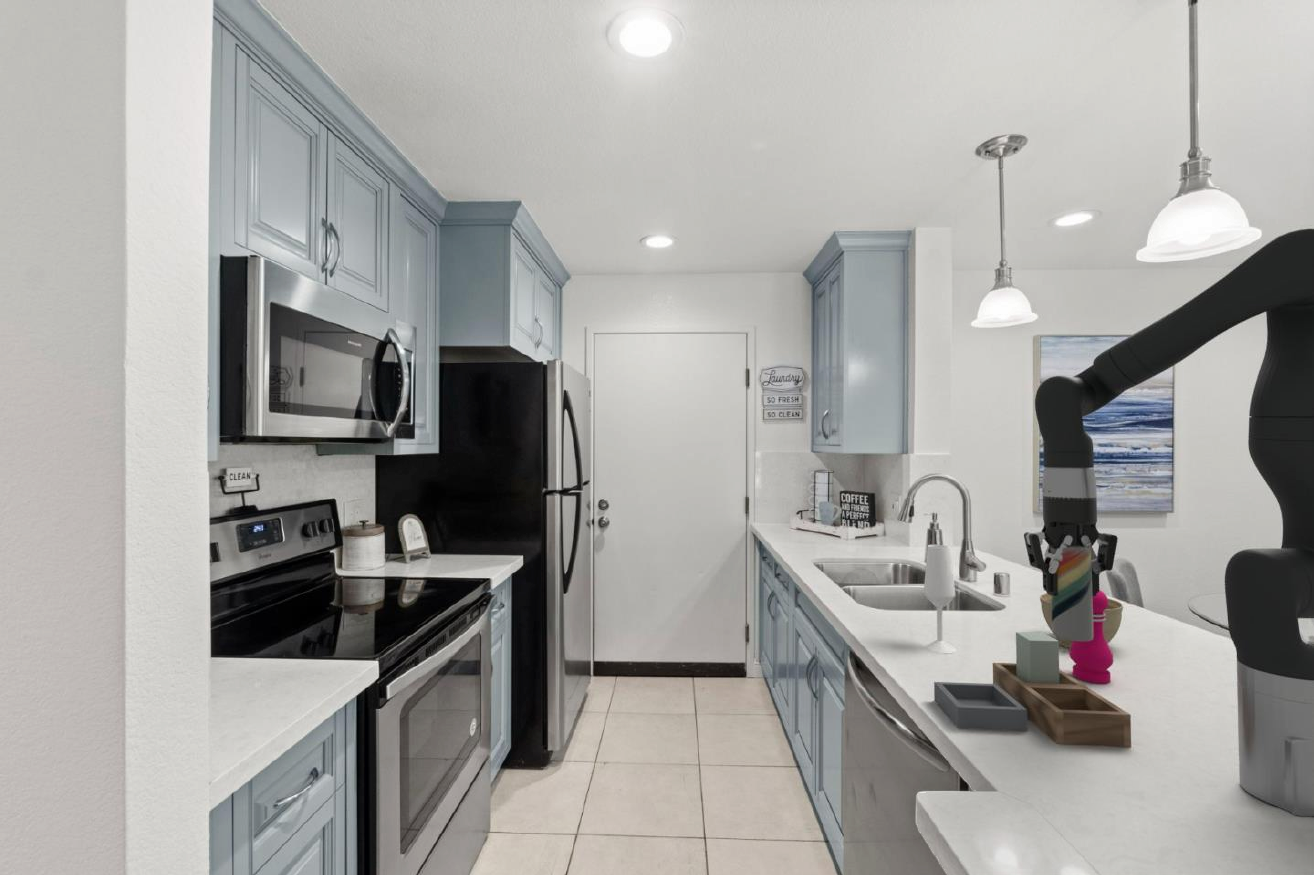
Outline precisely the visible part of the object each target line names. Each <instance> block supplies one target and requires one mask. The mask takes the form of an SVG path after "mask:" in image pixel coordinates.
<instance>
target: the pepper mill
mask: <svg viewBox="0 0 1314 875" xmlns="http://www.w3.org/2000/svg"><path fill="white" fill-rule="evenodd" d="M1092 598H1093V639H1092V640H1091V641H1073V642H1072V644H1071V647H1070V648H1069V657H1070V659H1071V660H1072V661H1073V662H1074V665H1073V666H1072V675H1073V677H1075V678H1076V679H1078V680H1080V681H1085V682H1087V683H1090V684H1091V683H1092V684H1093V683H1094V684H1104V685H1105V684H1109V683H1110V682H1111V672H1110V671H1109V670H1108V669H1109V668H1110V667H1112V666H1113V664H1114V655H1113V653H1112V650H1111V648H1110V645H1109V643H1108V644H1107V642H1106V640H1105V637H1104V634H1103V621H1105V620H1106V619H1105V615H1106V614H1105V613H1104V610H1105V609H1107V607H1108V599H1109V598H1108V597H1107V595H1106V593H1104V592H1103V591H1102V590H1100V589H1099V593H1097V595H1096V597H1092Z"/></svg>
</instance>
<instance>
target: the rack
mask: <svg viewBox="0 0 1314 875" xmlns="http://www.w3.org/2000/svg"><path fill="white" fill-rule="evenodd" d="M992 684H997V685H998V686H999V687H1000V688H1001V689H1003V690H1004V691H1005V692H1006V693H1007V694H1009V695H1010V696H1011V697H1012V698H1013V699H1015V700H1016V701H1017V702H1018V703H1019V704H1021V705H1022V706H1023V707H1024V708H1025V709H1027V720H1029V721H1030V722H1031V723H1032V724H1033V725H1035V726H1036V727H1037V728H1039V729H1040V730H1041V731H1042V732H1043V733H1044V734H1045V735H1046V736H1048V737H1049V738H1050V739H1051V740H1052V741H1053V742H1054V743H1056V744H1057V745H1060V744H1061V745H1079V746H1081V745H1082V746H1083V745H1084V746H1099V747H1100V746H1104V747H1105V746H1106V747H1122V748H1123V747H1125V748H1127V747H1128V748H1132V721H1131V720H1132V719H1131V718H1132V716H1131V714H1130V713H1129V712H1127V711H1126V710H1124V709H1123V708H1121V707H1119V706H1118V705H1116V704H1114V703H1113V702H1111V701H1109V700H1108V699H1106V698H1105V697H1104V696H1102V695H1100V694H1099V693H1097V692H1096V691H1094V690H1092V689H1091V688H1090V687H1088V686H1086V685H1085V684H1083V683H1081V682H1080V681H1079V680H1077V679H1075V678H1074V677H1073V676H1070V675H1069V674H1067V673H1066V672H1064V671H1062V669H1060V668H1059V684H1043V683H1024V682H1023V681H1021V680H1020V679H1019V678H1017V669H1016V662H1015V663H1013V662H1012V663H1010V662H1007V663H1005V662H992Z"/></svg>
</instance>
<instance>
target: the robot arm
mask: <svg viewBox="0 0 1314 875" xmlns="http://www.w3.org/2000/svg"><path fill="white" fill-rule="evenodd" d="M1263 313H1265V314H1266V345H1265V346H1266V347H1265V352H1264V356H1263V359H1262V363H1261V365H1260V368H1259V371H1258V375H1257V377H1256V381H1255V384H1254V387H1253V391H1252V394H1251V400H1250V406H1249V412H1248V414H1249V415H1248V416H1249V418H1248V436H1247V438H1248V439H1247V440H1248V442H1247V443H1248V444H1247V445H1248V446H1247V447H1248V452H1249V456H1250V458H1251V460H1252V463H1253V464H1254V466H1255V468H1256V470H1258V473H1259V474H1260V476H1261V477H1262V479H1263V480H1264V482H1265V483H1266V485H1267V486H1268V487H1269V489H1270V491H1271V492H1272V494H1273V495H1274V497H1275V499H1276V501H1277V503H1278V507H1279V509H1280V514H1281V518H1282V520H1281V522H1282V538H1281V539H1282V541H1281V548H1247V549H1246V548H1245V549H1242V550H1240V551H1238V552H1236V553H1234V554H1233V555H1232V556H1231V558H1229V561H1228V562H1227V565H1226V568H1225V571H1224V572H1225V573H1224V590H1225V591H1224V594H1225V604H1226V613H1227V626H1228V632H1229V633H1228V634H1229V636H1230V638H1231V641H1232V643H1233V646H1234V647H1235V651H1236V680H1237V681H1236V686H1237V690H1236V691H1237V692H1236V694H1237V696H1236V697H1237V728H1238V730H1237V731H1238V734H1237V737H1238V763H1239V764H1238V770H1239V771H1238V773H1239V785H1240V786H1241V788H1242V789H1243V790H1244V791H1246V792H1247V793H1248V794H1250V795H1252V796H1253V797H1255V798H1257V799H1259V800H1261V801H1263V802H1265V803H1267V804H1270V805H1273V806H1276V807H1278V808H1281V809H1283V810H1286V811H1288V812H1289V813H1291V814H1293V815H1295V816H1305V817H1307V816H1309V817H1314V645H1311V644H1308V643H1306V642H1305V641H1303V639H1302V636H1301V632H1300V625H1299V619H1314V228H1304V229H1303V228H1301V229H1296V230H1293V231H1288V232H1286V233H1283V234H1282V235H1278V236H1277V237H1275V238H1274V239H1272V240H1270V241H1269V242H1267V243H1266V244H1265V245H1264V246H1262V247H1260V248H1259V249H1258V250H1257V251H1256V252H1254V253H1253V254H1251V255H1250V256H1249V257H1248V258H1247V259H1245V260H1244V261H1242V262H1241V263H1239V265H1238V266H1236V267H1235V268H1233V269H1232V270H1231V271H1230V272H1228V273H1227V274H1225V276H1223V277H1222V278H1220V279H1219V280H1217V281H1216V282H1215V283H1213V284H1212V285H1210V286H1209V287H1208V288H1206V289H1205V290H1204V291H1202V292H1201V293H1199V294H1197V295H1196V296H1194V298H1192V299H1191V300H1189V301H1187V302H1185V303H1184V304H1182V305H1181V306H1179V307H1177V308H1176V309H1175V310H1172V311H1170V313H1167V314H1166V315H1164V316H1162V317H1161V318H1159V319H1158V320H1156V321H1154V322H1152V323H1151V324H1149V325H1147V326H1145V327H1144V328H1142V329H1140V330H1138V331H1137V332H1135V333H1133V334H1131V335H1129V336H1127V337H1126V338H1125V339H1123V340H1121V341H1119V342H1118V343H1116V344H1114V345H1112V346H1110V347H1109V348H1108V349H1106V350H1104V351H1103V352H1101V353H1100V354H1098V355H1097V356H1096V357H1095V358H1094V359H1093V363H1092V365H1091V366H1088V368H1086V369H1084V370H1083V371H1081V372H1080V373H1078V374H1076V375H1074V376H1067V375H1054V376H1051V377H1049V378H1046V379H1045V380H1044V381H1043V382H1041V383H1040V385H1039V386H1038V388H1037V391H1036V393H1035V398H1034V410H1035V415H1036V420H1037V423H1038V427H1039V428H1038V429H1039V431H1040V435H1041V438H1042V441H1043V452H1042V454H1043V457H1042V458H1043V472H1042V479H1041V480H1042V482H1041V483H1042V485H1041V486H1042V487H1041V493H1042V520H1043V527H1042V529H1041V531H1039V532H1038V531H1037V532H1033V533H1032V532H1029V531H1028V532H1024V534H1023V538H1024V541H1025V542H1024V543H1025V548H1026V551H1027V552H1026V553H1027V557H1028V561H1029V565H1030V566H1031V567H1033V568H1036V569H1038V570H1040V571H1041V572H1042V588H1043V590H1044V591H1045V592H1046V593H1047V594H1049V595H1051V596H1057V595H1058V586H1057V574H1056V573H1055V572H1056V570H1057V568H1058V566H1059V562H1060V561H1062V554H1061V553H1062V550H1063V548H1066V547H1069V546H1070V545H1071V543H1072V540H1073V538H1072V537H1071V536H1069V535H1065V534H1064V526H1065V525H1066V524H1071V525H1083V535H1082V536H1081V543H1082V545H1080V546H1082V547H1086V548H1090V549H1091V562H1092V597H1096V595H1097V593H1099V590H1100V574H1101V573H1102V572H1105V571H1112V570H1113V566H1114V563H1115V562H1114V561H1115V555H1116V551H1117V547H1118V546H1117V545H1118V539H1119V538H1118V535H1115V534H1111V533H1107V532H1106V533H1105V532H1104V533H1103V532H1100V531H1099V530H1098V529H1097V522H1098V508H1097V507H1098V506H1097V504H1098V503H1097V502H1098V499H1097V479H1096V475H1095V474H1096V473H1095V461H1094V460H1095V459H1094V450H1095V449H1094V442H1093V439H1092V437H1091V436H1090V435H1089V434H1088V433H1087V432H1086V431H1085V426H1084V425H1085V424H1084V419H1083V418H1084V417H1086V416H1089V415H1090V414H1093V413H1095V412H1097V411H1098V410H1100V409H1103V407H1105V406H1106V405H1107V404H1109V403H1111V402H1112V401H1113V400H1115V399H1116V398H1118V397H1119V396H1120V395H1122V394H1123V393H1124V392H1125V391H1127V390H1129V389H1131V388H1134V387H1136V386H1137V385H1140V384H1143V383H1144V382H1146V381H1148V380H1150V379H1152V378H1154V377H1155V376H1157V375H1160V374H1161V373H1163V372H1165V371H1166V370H1168V369H1170V368H1172V367H1174V366H1175V365H1177V364H1179V363H1180V362H1181V361H1184V360H1185V359H1186V358H1188V357H1189V356H1191V355H1192V354H1193V353H1195V352H1196V351H1198V350H1199V349H1201V348H1202V347H1203V346H1204V345H1206V344H1208V343H1209V342H1210V341H1212V340H1213V339H1215V338H1216V337H1218V336H1220V335H1221V334H1223V333H1225V332H1227V331H1228V330H1230V329H1232V328H1233V327H1235V326H1237V325H1239V324H1242V323H1243V322H1245V321H1248V320H1249V319H1252V318H1255V317H1257V316H1258V315H1259V316H1260V315H1261V314H1263ZM1043 541H1045V542H1046V543H1047V547H1046V549H1045V551H1044V555H1043V551H1042V545H1043V543H1044V542H1043ZM1095 543H1097V544H1098V549H1097V554H1096V552H1095V550H1094V548H1093V546H1094V545H1095ZM1050 547H1051V548H1054V549H1057V548H1058V549H1057V551H1056V553H1055V554H1051V553H1050Z"/></svg>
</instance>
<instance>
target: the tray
mask: <svg viewBox="0 0 1314 875" xmlns="http://www.w3.org/2000/svg"><path fill="white" fill-rule="evenodd" d="M933 684H934V685H933V687H934V688H933V689H934V690H933V692H934V693H933V694H934V697H933V698H934V702H935V704H936V705H937V706H938V707H939V708H940V709H941V710H942V711H943V713H945V715H946V716H947V717H948V718H949V719H950V720H951V722H952V723H953V724H954V725H955V726H956V727H957V729H965V730H966V729H967V730H968V729H969V730H993V731H1010V732H1011V731H1013V732H1014V731H1017V732H1028V718H1027V709H1025V708H1024V707H1023V706H1022V705H1021V704H1019V703H1018V702H1017V701H1016V700H1015V699H1013V698H1012V697H1011V696H1010V695H1009V694H1007V693H1006V692H1005V691H1004V690H1003V689H1001V688H1000V687H999V686H998V685H997V684H993V683H977V682H976V683H975V682H973V683H971V682H949V681H947V682H944V681H934V682H933Z"/></svg>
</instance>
